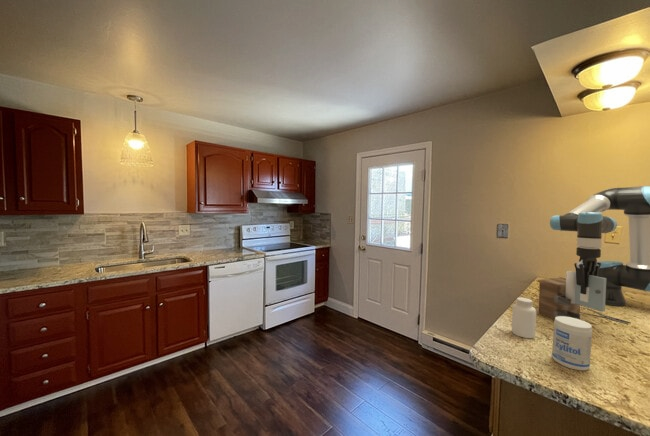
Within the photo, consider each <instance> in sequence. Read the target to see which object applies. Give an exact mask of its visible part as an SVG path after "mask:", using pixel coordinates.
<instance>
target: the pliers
mask: <svg viewBox="0 0 650 436" xmlns="http://www.w3.org/2000/svg"><path fill="white" fill-rule="evenodd" d="M582 308H583V310H586V309H587V311H590V312H593V313H595V314H591V313H586V312H582V311H580V314H582V313H583V315H588V316H592V317H599V318H604V319H607V320H610V321H613V322H616V323H619V324H624V325H629V324H631V325H632V322H631V321H628V320H624V319H621V318H617V317H613V316H610V315H606V314H603V313H602V312H599V311H597V310H594V309H591V308H587V307H583V306H582V307H581V306H580V309H582Z"/></svg>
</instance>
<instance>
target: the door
mask: <svg viewBox="0 0 650 436" xmlns="http://www.w3.org/2000/svg"><path fill="white" fill-rule="evenodd" d="M565 274H566V275H565V278H566V295H565V298H566V299H570V300H571V303H573V304H577V305H580V307H581V306H582V307H583V308H587V309H590V310H593V311H597V312H600V313H603V312H605V311H606V305H605V299H606V278H602V277H597V276H592V275H589V281H588V287H589V302H584V301H581V300H580V289H581V286H579V285H577V282H576V270H575V271H574V270H566V273H565Z"/></svg>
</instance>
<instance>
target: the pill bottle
mask: <svg viewBox="0 0 650 436" xmlns="http://www.w3.org/2000/svg"><path fill="white" fill-rule="evenodd" d="M533 304H534V303H533V300H532V299H530V298H528V297H517V298H516V303H515V304H513V305H512V313H511V315H512V316H511V332H512V334H514V335H515V336H518V337H520V338H524V339H534V338H535V336H536V326H537V325H536V323H537V310H536V308H535V307H533Z"/></svg>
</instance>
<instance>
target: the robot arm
mask: <svg viewBox="0 0 650 436" xmlns="http://www.w3.org/2000/svg"><path fill="white" fill-rule="evenodd" d="M608 210H609V211H611V210H613V211H619V210H620V211H623V215H625V216H626V217H627V218H628V236H629V237H628V238H629V239H628V240H629V241H628V242H629V261H627V262H626V263H625V265H624V263H623V261H617V260H616V261H615V260H597V259H600V258H601V255H602V254H601V253H602V249H601V248H602V234H609V233H612V232H613V231H615V230H616V229H617V227H618V223H617V221H616V219H615V218H612V217H610V216H606V215H605V216H603V213H602V212H605V211H608ZM549 226H550V228H551V229H552V230H553V231H560V232H564V231H565V232H577V234H576V237H577V238H576V246H577V247H576V249H575V250H576V253H575V254H576V256H578V257H579V259H578V262H575V263H574V264H573V265H574V268H575V272H576V282H577V285H579V286H581V289H580V300H581V301H584V302H589V287H588V281H589V275H592V276H597V277H602V278H606V299H605V306H606V305H607V306H612V307H624V306H626V302H627V301H626V298H625V296H624V293H623V291H622V290H623V289H622V288H623V287H624V288H628V289H634V290H638V291H644V292H648V293H649V292H650V185H649V186H645V185H644V186H631V187H612V188H608V189H604V190H602V191H599V192H596V193H594V194H592V195H591V196H589V197H588V198H587V199H586V201H584V202H583V203H581V204H580V205H577V206H576V207H575V208H573V209H572V210H570V211H568V212H566V213H565V214H563V215H562V214H559V215H553V216H551V218H550V219H549Z"/></svg>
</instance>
